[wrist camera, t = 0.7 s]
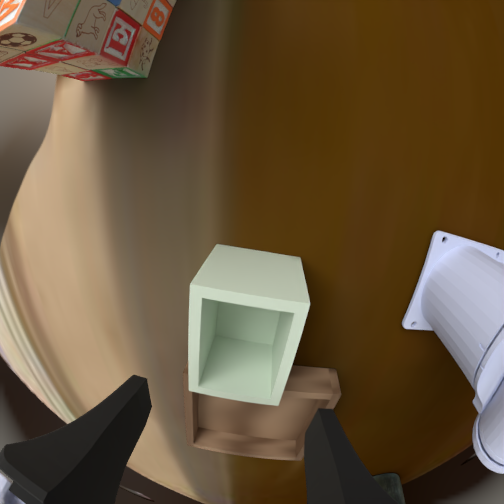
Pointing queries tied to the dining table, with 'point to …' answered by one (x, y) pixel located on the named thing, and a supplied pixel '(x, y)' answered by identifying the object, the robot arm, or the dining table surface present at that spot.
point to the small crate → (245, 324)
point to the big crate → (261, 417)
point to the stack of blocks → (83, 36)
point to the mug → (391, 486)
